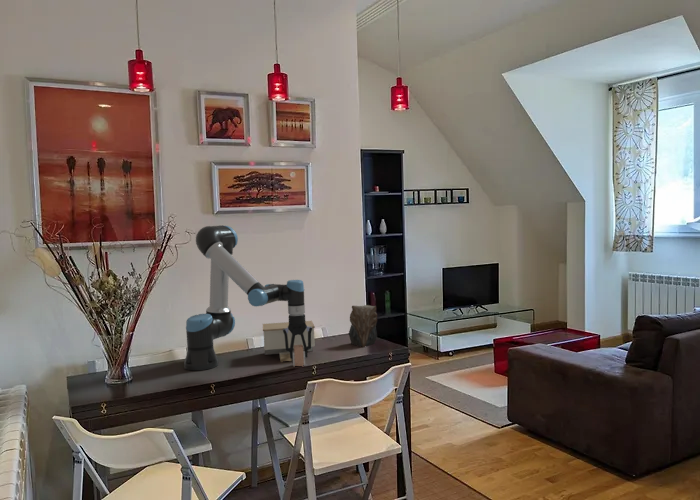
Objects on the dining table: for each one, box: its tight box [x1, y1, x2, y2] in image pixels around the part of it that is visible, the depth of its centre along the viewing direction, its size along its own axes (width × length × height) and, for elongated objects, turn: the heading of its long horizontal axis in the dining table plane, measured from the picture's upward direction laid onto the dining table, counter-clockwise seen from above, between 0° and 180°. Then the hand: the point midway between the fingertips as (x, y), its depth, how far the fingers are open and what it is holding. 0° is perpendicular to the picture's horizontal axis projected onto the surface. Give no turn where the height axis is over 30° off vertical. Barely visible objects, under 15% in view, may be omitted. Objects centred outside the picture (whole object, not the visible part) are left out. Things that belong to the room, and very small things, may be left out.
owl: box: [348, 304, 378, 348], centre depth 284 cm, size 13×13×20 cm
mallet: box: [279, 345, 305, 367], centre depth 252 cm, size 10×17×9 cm, turn 10°
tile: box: [279, 354, 292, 363], centre depth 256 cm, size 5×5×2 cm
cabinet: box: [262, 320, 316, 355], centre depth 266 cm, size 25×15×15 cm, turn 99°
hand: (299, 364), depth 246 cm, fingers closed on mallet, 4 cm apart
